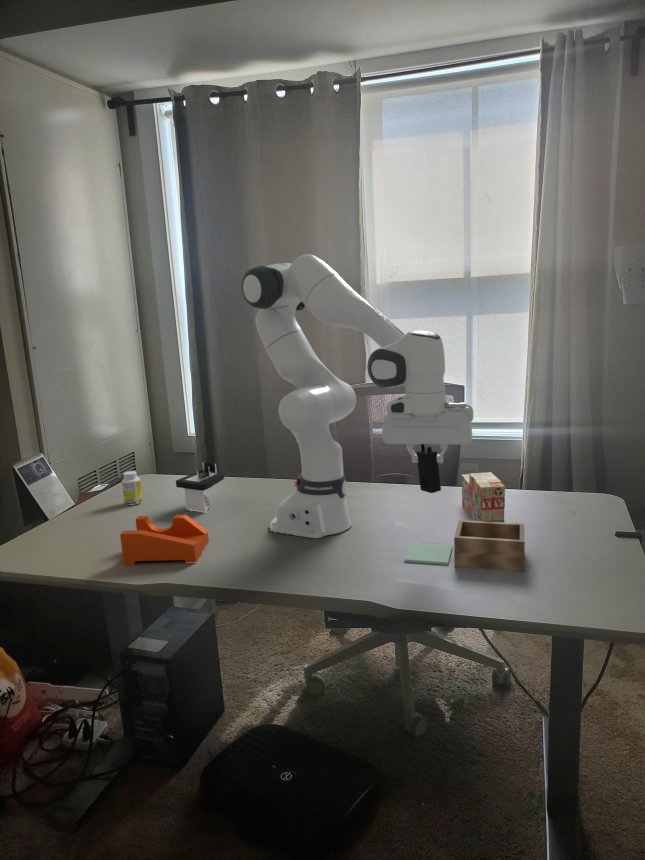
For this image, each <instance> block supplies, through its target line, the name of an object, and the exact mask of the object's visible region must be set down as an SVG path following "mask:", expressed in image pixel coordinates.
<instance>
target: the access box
mask: <svg viewBox="0 0 645 860" xmlns="http://www.w3.org/2000/svg"><path fill="white" fill-rule="evenodd" d="M456 525H457V526H456V530H455V532H454V533H455V534H454V538H453V539H454V541H453V542H454V544H453V545H454V547H453V548H454V550H453V551H454V567H455V568H456V567H458V568H470V569H481V570H482V569H484V570H494V571H509V572H522V573H525V553H526V552H525V548H526V547H525V545H526V542H525V541H526V540H525V537H526V536H525V523H521V522H520V523H518V522H504V523H503V522H484V521H473V520H463V519H458V522H457V524H456Z"/></svg>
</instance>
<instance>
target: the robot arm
mask: <svg viewBox="0 0 645 860" xmlns="http://www.w3.org/2000/svg"><path fill="white" fill-rule="evenodd" d="M241 292H242V295H243V298H244V300H245V302H246V303H247V305H249V306H251V307H252V308H256V309H259V310H258V312H257V313H256V315H255V320H254V322H255V326H256V330H257V333H258V336H259V338H260V341H261V343H262V345H263V348H264V349H265V352H266V354H267V355H268V357H269V358H270V360H271V362H272V364H273V366H274V368H275V369H276V371H277V374H278V375H279V376H280V377H281V378H282V379H283V380H285V381H287V382H288V383H291V384H292V385H294V387H296V389H295V390H292V391H290V392H289V393H288V394H285V395H284V396H283V397H282V398H281V399H280V402H279V405H278V415H279V419H280V421H281V423H282V424H283V426H284V427H285V428H286V429H288V430H290V432H291V433H292V434H293V436H294V437H295V439H296V442H297V444H298V448H299V453H300V462H301V464H300V465H301V473H300V474H299V475H298V477H297V478H296V479H295V481H294V487H296V489H295V490H294V491H293V492H292V493H290V494H288V496H286V497H285V498H284V499H283V500H282V501H281V502H280V504H279V506H278V508H277V512H276V513H277V514H276V515H277V516H275V517H274V518H272V520H271V521H270V523H269V528H270V529H269V530H270V532H272V531H273V532H272V533H278V532H279V534H284V533H285V534H286V535H290V534H291V535H292V536H297V537H304V538H311V539H320V538H323V537H325V536H329V535H335V534H339V533H340V534H341V533H343V532H346V531H347V530H348V529H350V528H351V527H352V524H353V523H352V520H351V518H350V514H349V510H348V505H347V500H346V494H347V493H346V492H347V481H346V474H344V463H343V461H344V459H343V448H342V446H341V444H340V443H339V442H338V441H336V440H334V438H333V437H332V433H331V428H330V424H333V423H335V422H338V421H341V420H343V419H344V418H346V417H348V415H350V414H351V413H352V412H353V411H354V410H355V408H356V406H357V395H356V392H355V390H354V388H353V387H352V386H351V385H350V384H349V383H348V382H345V381H343V380H342V379H340V378H338V377H337V376H336V375H335V374H334V373H332V372H331V370H330V369H328V368H327V366H326V365H324V363H323V362H322V361H321V360H320V358H319V357H318V356H317V354H316V353H315V351H314V349H313V347H312V346H311V344H310V342H309V341H308V339H307V337H306V336H305V332H303V329H302V327H301V326H300V325H299V322H298V320H297V318H296V311H302V310H304V309H305V308H307V310H308V311H310V313H311V314H312V315H313V316H314V317H315V318H317V319H318V320H319V321H320V322H322V323H324V324H325V325H327V326H329V327H330V326H331V327H336V328H337V327H339V328H345V329H350V330H354V331H358V332H361V333H363V334H364V335H366V336H367V337H369V338H370V339H371V340H373V341H374V342H375V343H376V344H377V346H378V347H379V348H377V349H375V350H373V351H372V353H371V354H370V355H369V357H368V359H367V366H366V368H367V369H366V370H367V375H368V376H369V379H370V380H371V382H372V383H373V384H374V385H375V386H376V387H379V388H382V389H392V388H396V387H397V388H398V387H402V386H403V387H404V388H405V395H404V396H400V397H398V398H394V399H391V400H390V401H389V402H388V403H387V404H386V406H385V411H386V415H385V416H384V418H383V421H382V431H381V433H382V434H381V439H382V441H383V442H384V443H385V444H386V445H387V444H389V445H406V450H407V452H408V453H409V454H410V456H411V463H417V464H418V463H419V460H418V455H417V454H416V453H417V452H416V451H415V449H413V448H415V447H414V446H415V445H421V444H424V445H440V450H441V452H440V453H437V463H438V464H443V463H444V455H445V453H446V452H447V449H448V446H449V445H460V446H461V445H465V446H467V445H470V444H471V442H472V441H473V427H472V421H473V420H474V409H473V407H472V406H471V405H469V404H467V403H466V402H460V403H456V402H447V399H446V398H447V397H446V391H447V390H446V385H445V381H444V377H445V372H446V360H445V349H444V344H443V339H442V338H441V335H439V334H438V333H436V332H434V331H430V330H424V329H423V330H419V329H416V330H411V331H408V332H406V333H405V332H403V331H402V330H401V329H400V328H399V327H398V326H397V325H396V324H394V323H393V322H392V321H391V320H390V319H388V318H387V316H385V315H384V314H383V313H382V312H381V311H380V310H378V309H377V308H376V307H375V306H373V305H372V304H371V303H370V302H369V301H367V300H366V299H365V298H363V297H362V295H360V294H359V293H357V292H356V290H354V289H353V288H352V287H351V286H350V285H349V284H348V283H347V282H346V281H345V280H344V279H343V278H342V277H341V276H340V275H339V273H338V272H336V271H335V270H334V269H333V267H331V266H329V265H328V264H327V263H326V262H325V261H324V260H322V259H320V258H319V257H318V256H315V255H314V254H311V253H310V254H309V253H306V254H301V255H300V256H298V257H296V258H295V259H294V260H292V262H277V263H273V264H268V265H258V266H255V267H252V268H250V269H249V270H247V271H246V272H245V274H244V275H243V277H242V280H241Z"/></svg>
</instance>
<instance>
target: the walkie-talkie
mask: <svg viewBox="0 0 645 860" xmlns="http://www.w3.org/2000/svg"><path fill="white" fill-rule="evenodd" d="M420 448H421V450H419V451H416V452H415V453H416V454H417V455H418V460H419V463H417V469H418V477H419V486H420V488H419V489H420V491H423V492H426V493H429V494H434V493H437V492H440V491H441V490H442V487H441V478H440V477H441V476H440V469H439V467H440V466H439V463H437V454H438V452H437V451H435V450H432V447H431V446H428V447H427V448H426V447H425V444H420Z"/></svg>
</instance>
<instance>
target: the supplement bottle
mask: <svg viewBox="0 0 645 860" xmlns="http://www.w3.org/2000/svg"><path fill="white" fill-rule="evenodd" d="M121 487H122V490H123V491H122V493H123V501H124V504H125V505H126V504H127V505H126V506H128V505H133V504H138V503H140V502H142V503H143V492H142V486H141V478H140V477H139V476H138V473H137V471H135V470H130V471H125V472H123V479H122V480H121ZM140 504H141V503H140ZM138 505H139V504H138ZM133 506H134V505H133Z"/></svg>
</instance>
